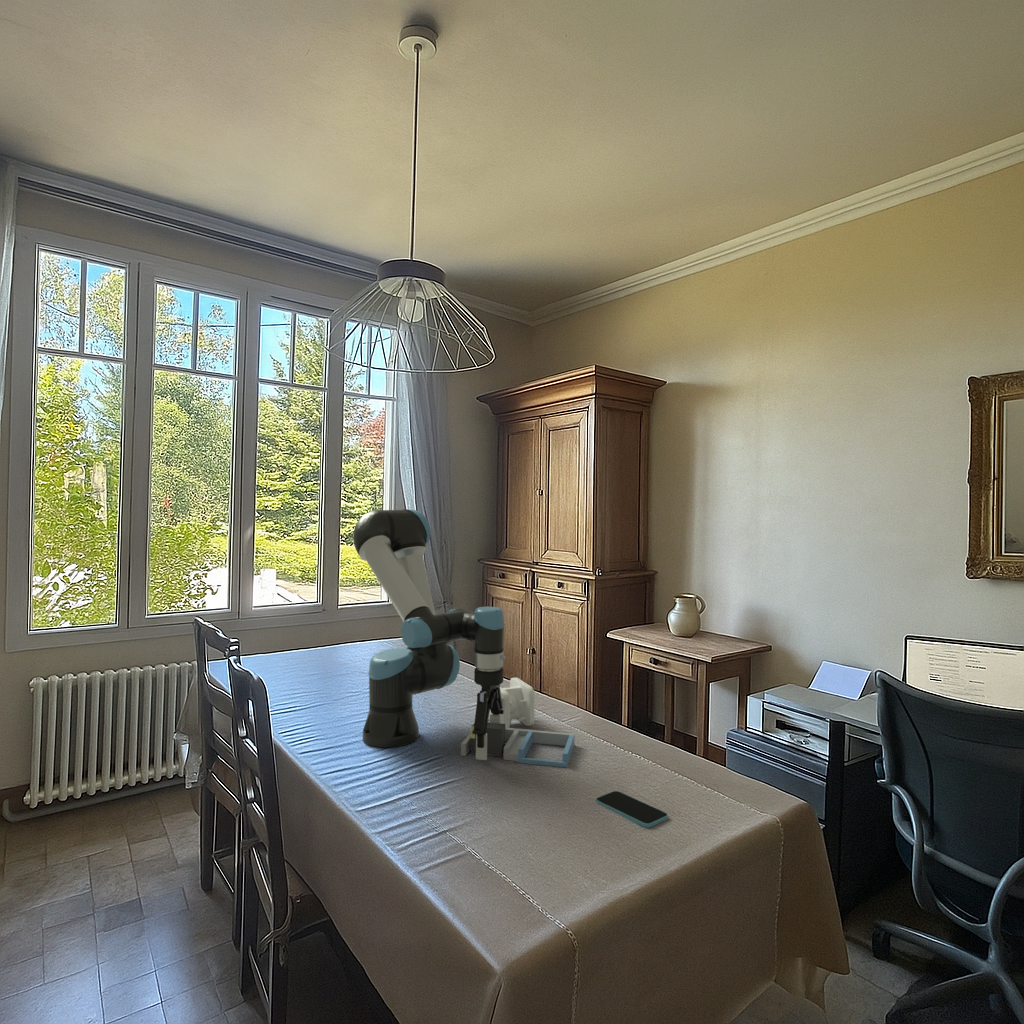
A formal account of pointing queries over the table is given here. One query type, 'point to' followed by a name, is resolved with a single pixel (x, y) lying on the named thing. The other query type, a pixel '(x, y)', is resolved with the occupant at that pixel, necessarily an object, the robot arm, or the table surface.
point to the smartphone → (632, 809)
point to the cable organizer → (517, 703)
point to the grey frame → (522, 742)
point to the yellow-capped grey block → (492, 739)
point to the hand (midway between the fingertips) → (488, 748)
